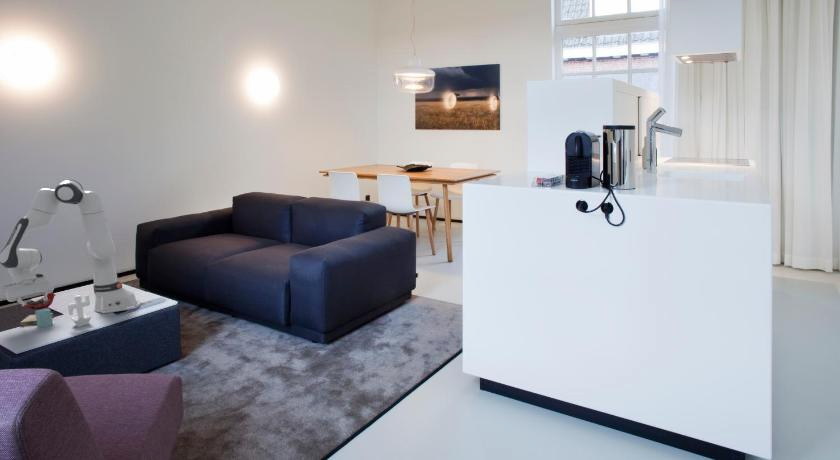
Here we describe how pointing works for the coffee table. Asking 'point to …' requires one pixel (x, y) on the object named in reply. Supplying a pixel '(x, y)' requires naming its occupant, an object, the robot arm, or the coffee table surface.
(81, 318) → the figurine
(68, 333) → the coffee table surface
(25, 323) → the beige square slab
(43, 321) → the teal block
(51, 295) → the decorative bird figurine
